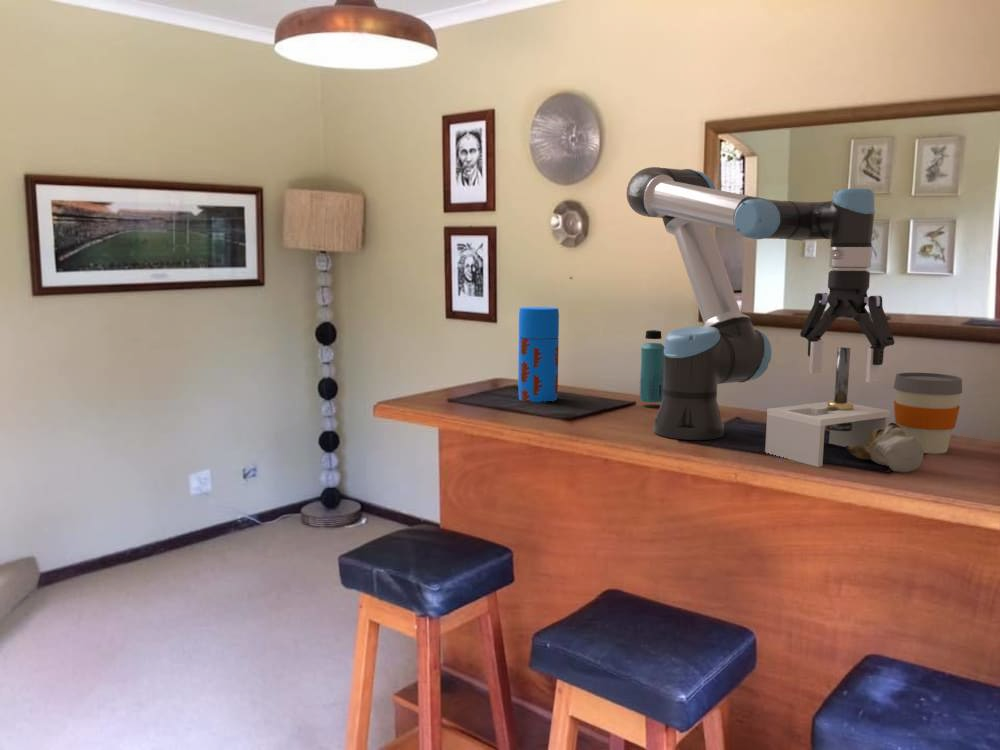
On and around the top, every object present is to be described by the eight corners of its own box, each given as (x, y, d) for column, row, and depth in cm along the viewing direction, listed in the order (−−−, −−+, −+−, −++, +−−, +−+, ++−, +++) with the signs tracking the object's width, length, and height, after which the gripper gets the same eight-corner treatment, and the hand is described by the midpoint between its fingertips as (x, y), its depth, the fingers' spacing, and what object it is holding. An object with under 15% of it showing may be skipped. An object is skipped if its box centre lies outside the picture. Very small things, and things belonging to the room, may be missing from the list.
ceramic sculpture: (887, 428, 149) (843, 417, 164) (885, 476, 149) (841, 461, 164) (943, 427, 150) (894, 417, 165) (940, 475, 151) (892, 460, 165)
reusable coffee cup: (882, 440, 179) (887, 371, 177) (944, 443, 177) (950, 373, 175) (899, 454, 167) (904, 380, 165) (967, 456, 165) (973, 382, 163)
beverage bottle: (660, 409, 215) (663, 331, 212) (635, 406, 218) (638, 330, 215) (667, 405, 221) (669, 329, 218) (642, 403, 224) (645, 328, 221)
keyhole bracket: (817, 467, 156) (820, 419, 155) (765, 452, 167) (767, 408, 166) (887, 455, 166) (890, 410, 165) (832, 442, 177) (835, 400, 176)
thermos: (541, 394, 237) (542, 306, 233) (565, 400, 228) (567, 308, 225) (510, 398, 231) (511, 307, 227) (533, 403, 222) (534, 309, 218)
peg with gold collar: (820, 427, 169) (825, 347, 166) (837, 425, 171) (842, 346, 169) (840, 432, 164) (846, 349, 162) (857, 429, 167) (862, 348, 164)
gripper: (786, 268, 172) (780, 370, 175) (893, 270, 151) (885, 387, 154) (811, 268, 176) (805, 368, 179) (920, 270, 154) (911, 384, 157)
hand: (842, 377), depth 166 cm, fingers open, 13 cm apart
